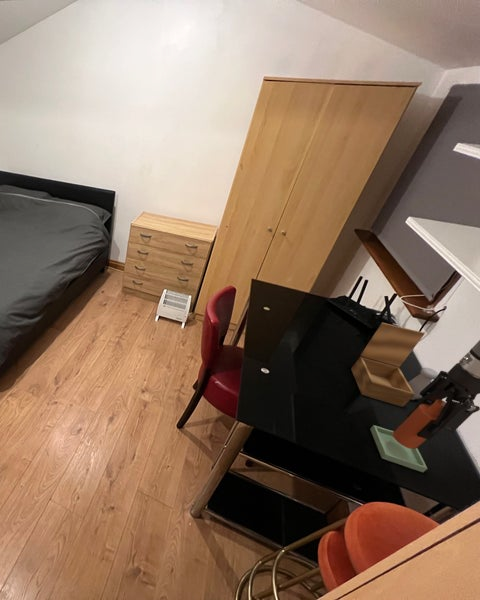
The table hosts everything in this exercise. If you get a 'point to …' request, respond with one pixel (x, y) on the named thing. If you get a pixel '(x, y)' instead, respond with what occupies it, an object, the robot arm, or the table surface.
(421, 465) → the tray
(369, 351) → the lid
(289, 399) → the table surface
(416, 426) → the bottle
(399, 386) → the chest
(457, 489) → the table surface
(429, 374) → the salt shaker
